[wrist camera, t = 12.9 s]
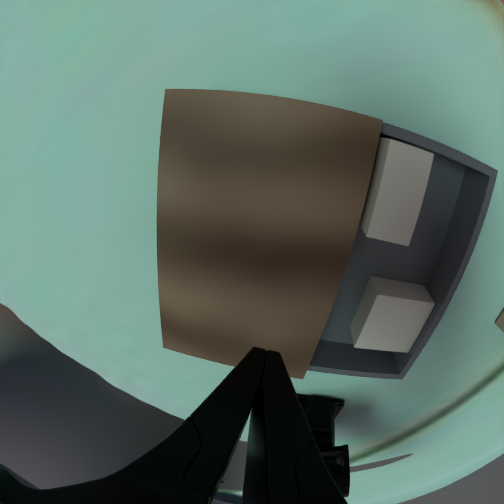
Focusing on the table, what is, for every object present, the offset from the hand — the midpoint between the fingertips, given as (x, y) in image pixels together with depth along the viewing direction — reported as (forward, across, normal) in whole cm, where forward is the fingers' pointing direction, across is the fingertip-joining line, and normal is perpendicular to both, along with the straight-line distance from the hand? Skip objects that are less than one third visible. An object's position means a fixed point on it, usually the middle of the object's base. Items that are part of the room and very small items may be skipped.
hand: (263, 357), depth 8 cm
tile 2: (+10, -10, +5) cm, 14 cm away
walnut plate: (+13, +2, +1) cm, 13 cm away
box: (+13, -8, +1) cm, 15 cm away
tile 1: (+9, -4, -5) cm, 11 cm away
